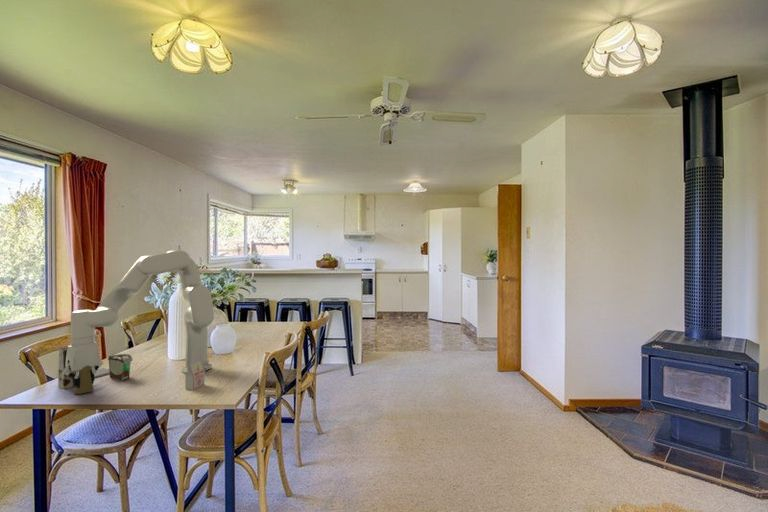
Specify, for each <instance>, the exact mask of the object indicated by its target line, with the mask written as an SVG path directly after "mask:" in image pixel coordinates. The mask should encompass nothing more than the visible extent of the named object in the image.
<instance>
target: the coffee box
mask: <svg viewBox="0 0 768 512" xmlns="http://www.w3.org/2000/svg"><path fill="white" fill-rule="evenodd" d="M67 350H68V346H67V347H61V348H58V379H57V381H58V382H57V383H58V387H60V388H61V389H64V390H65V389H69V388H73V387H74V386H73V378H72V377H70V376H68V375H65V374H62V372H63V370H64V369H65V367H66V355H67ZM69 372H71V373H72V371H71V370H69ZM74 388H75V387H74Z"/></svg>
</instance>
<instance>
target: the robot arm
mask: <svg viewBox="0 0 768 512" xmlns="http://www.w3.org/2000/svg"><path fill="white" fill-rule="evenodd" d="M173 271H176V272H177V273H178V274H179V275H178V276H179V278H180V279H179V280H180V284H181V290H182V297H183V299H184V301H186V302H187V303H189V305H190V306H189V307H188V308H187V309H186V311H185V312H184V325H185V366H184V367H182V368H181V373H183V372H184V373H183V374H186V373H187V371H188V368H189V366H190V365H193V364H195V363H198V362H200V361H201V362H202V366H203V368H204V371H205V372H207V371H206V370H208V369H209V370H210V369H211V368H212V366H213V365H212V363H209V362H210V360H209V359H208V351H209V350H208V347H209V346H208V339H209V336H208V333H209V332H208V327H209V326H210V325H211V324H212V323H213V321H214V318H215V310H214V305H213V299H212V298H213V297H212V294H211V291H210V289H209V288H208V287H207V286H206V285H204V284H203V283H202V279H201V273H200V270H199V267H198V265H197V263H196V262H195V261H194V260H193V259H192V258H191V257H190V255H189V253H188V252H186V251H184V250H181V249H172V250H168V251H166V252H165V253H158V254H152V255H142V256H140V257H139V258H138V259H136V261H135V262H134V264H133V265H132V266H131V267H130V269H129V270H128V271H127V272H126V273H125V275H124V276H123V277H122V278H121V279H120V281H119V282H118V283H117V284H116V285H115V286H114V288H112V289H111V290H110V291H109V293H108V294H107V295H106V296H105V297H104V299H103V300H102V301H101V302H100V303H99V304H98V306H97V308H95V310H93V309H79V310H73V311H72V312H71V313H70V345H67V347H68V350H67V355H66V367H65V369H64V370H63V372H62V374H65V375H68V376H70V377H72V378H73V386H74V388H75V387H77V388H80V378H79V370H81V369H82V368H83V367H85V366H91V367H92V368H91V370H90V373H91V380H92V384H94V383H95V378H94V374H95V373H96V371H97V370H98V369H100V368H101V367H102V366H103V365H104V362H103V361H102V360H101V358H100V351H99V345H98V343H97V341H96V340H97V339H99V335H98V334H95V333H96V328H97V327H98V328H100V327H102V328H103V327H104V328H105V327H106V328H107V327H112V326H113V325H114V326H115V324H117V322H118V320H119V317H120V316H119V313H118V312H119V311H120V310H121V308H122V307H123V306H124V305H125V304H126V303H127V301H129V300H130V299H132V298H133V297H135V296H136V295H138V294H139V293H140V292H141V290H143V288H144V286H145V285H146V284H147V283H148V282H149V280H150V279H151V277H152V276H156V275H159V274H160V275H161V274H166V273H169V272H170V273H171V272H173ZM69 370H71V371H72V373H71V372H69ZM209 370H208V371H209Z"/></svg>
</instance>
